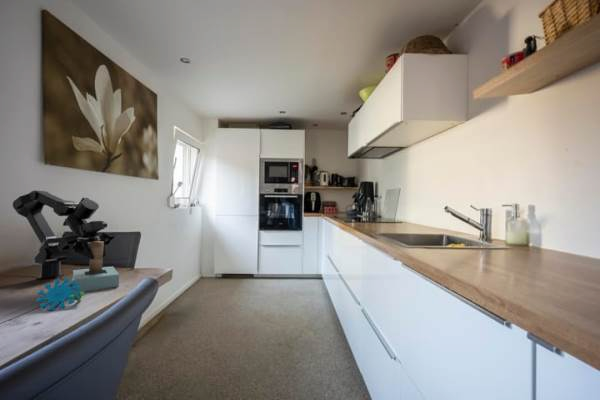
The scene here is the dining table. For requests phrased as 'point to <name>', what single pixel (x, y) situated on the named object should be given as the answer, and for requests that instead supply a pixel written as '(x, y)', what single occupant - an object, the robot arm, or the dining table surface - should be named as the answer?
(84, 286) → the housing
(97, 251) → the peg
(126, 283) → the dining table surface
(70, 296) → the gear
